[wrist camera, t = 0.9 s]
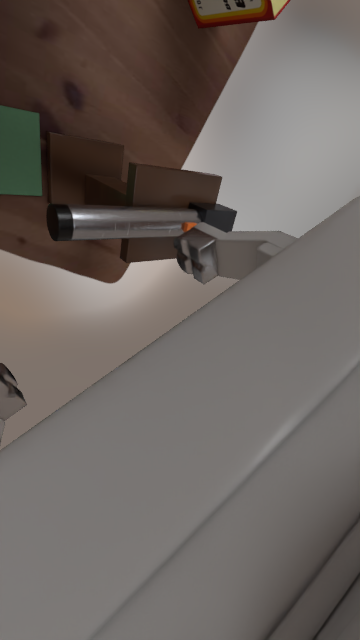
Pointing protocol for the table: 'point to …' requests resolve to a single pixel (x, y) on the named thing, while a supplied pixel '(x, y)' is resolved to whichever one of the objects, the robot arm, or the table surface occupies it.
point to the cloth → (20, 152)
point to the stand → (122, 186)
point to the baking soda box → (234, 11)
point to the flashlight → (132, 221)
